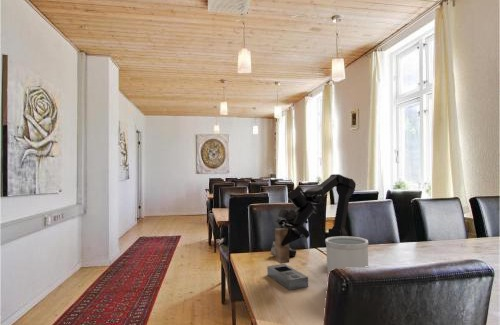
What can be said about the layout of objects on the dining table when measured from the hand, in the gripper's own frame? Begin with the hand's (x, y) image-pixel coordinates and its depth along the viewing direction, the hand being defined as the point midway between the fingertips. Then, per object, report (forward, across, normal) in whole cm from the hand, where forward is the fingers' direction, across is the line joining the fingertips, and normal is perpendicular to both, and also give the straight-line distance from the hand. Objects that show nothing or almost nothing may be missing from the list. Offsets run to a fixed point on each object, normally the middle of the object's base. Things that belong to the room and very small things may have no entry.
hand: (279, 244), depth 121 cm
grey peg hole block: (+9, +3, +10) cm, 14 cm away
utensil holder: (-2, +20, +22) cm, 30 cm away
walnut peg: (+4, 0, +6) cm, 7 cm away
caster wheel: (-2, -28, +22) cm, 36 cm away
